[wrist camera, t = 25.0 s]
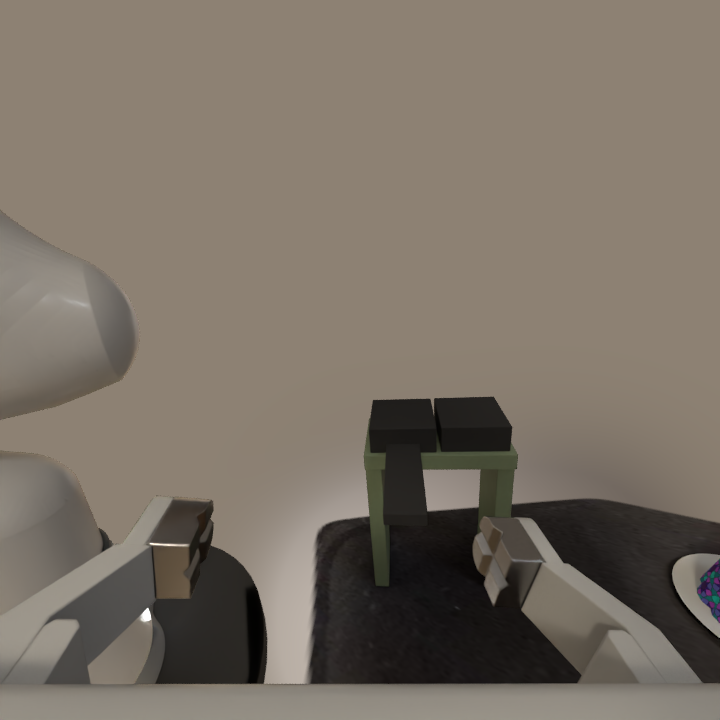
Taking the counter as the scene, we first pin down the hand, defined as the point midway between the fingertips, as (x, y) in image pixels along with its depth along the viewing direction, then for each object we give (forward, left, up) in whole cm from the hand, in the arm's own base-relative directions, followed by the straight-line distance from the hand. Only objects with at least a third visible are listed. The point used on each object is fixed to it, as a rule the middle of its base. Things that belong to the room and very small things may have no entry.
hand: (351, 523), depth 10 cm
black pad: (+2, +18, -11) cm, 21 cm away
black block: (+8, +22, -11) cm, 26 cm away
